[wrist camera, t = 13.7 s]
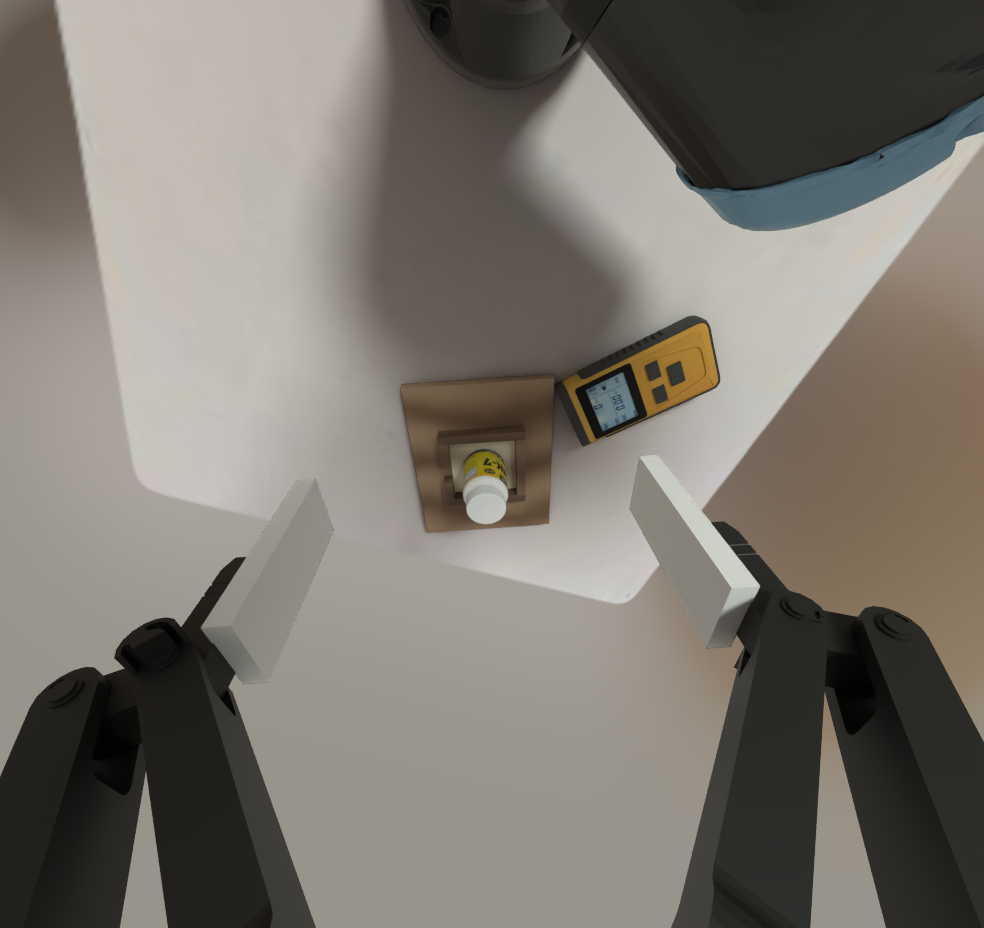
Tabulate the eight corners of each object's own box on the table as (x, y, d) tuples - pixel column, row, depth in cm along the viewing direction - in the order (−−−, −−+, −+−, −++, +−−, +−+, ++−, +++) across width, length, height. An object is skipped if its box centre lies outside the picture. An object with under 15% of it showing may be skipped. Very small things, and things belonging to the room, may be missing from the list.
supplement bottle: (512, 461, 46) (520, 507, 39) (486, 486, 47) (488, 534, 40) (481, 438, 44) (484, 482, 37) (455, 465, 46) (452, 512, 38)
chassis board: (401, 384, 41) (398, 394, 39) (552, 374, 41) (557, 383, 39) (428, 526, 52) (426, 540, 50) (547, 517, 52) (550, 531, 50)
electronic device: (709, 377, 43) (726, 389, 40) (578, 438, 46) (585, 453, 44) (694, 307, 39) (712, 314, 36) (551, 379, 42) (557, 391, 39)
